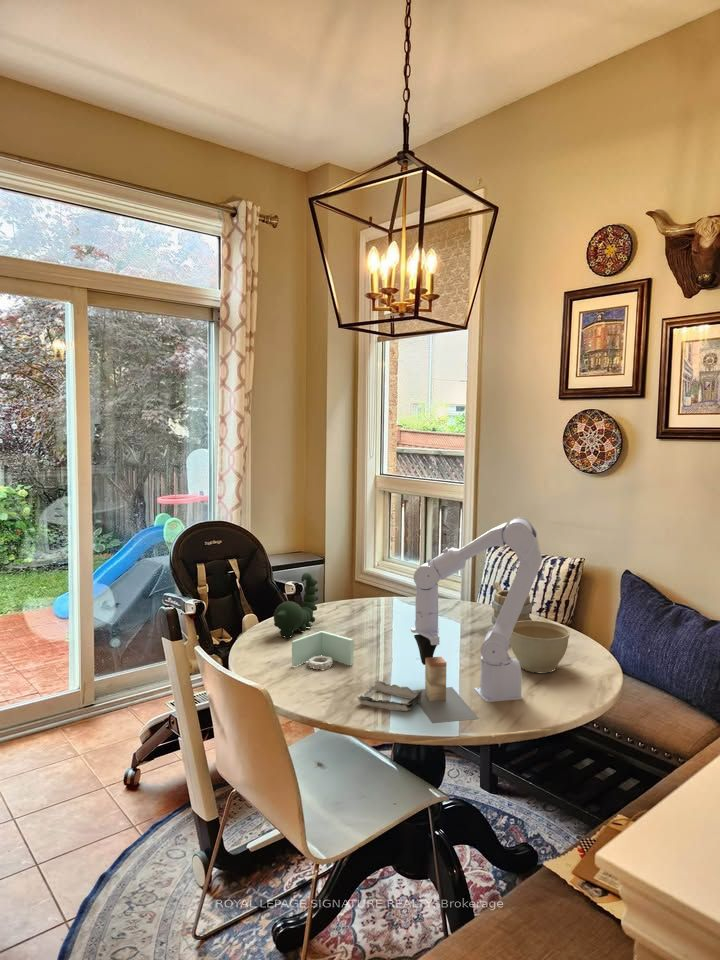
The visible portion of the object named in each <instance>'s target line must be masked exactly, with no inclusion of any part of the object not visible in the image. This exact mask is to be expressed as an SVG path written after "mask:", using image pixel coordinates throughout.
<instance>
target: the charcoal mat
mask: <svg viewBox="0 0 720 960" xmlns="http://www.w3.org/2000/svg"><path fill="white" fill-rule="evenodd" d="M411 691H412V692H413V693H417V691H419V692H421V691H422V693H421V696H422V697H421V701H420V702H418V703H417V704H418V705H419V706H420V707H421V709H422V710H423V712H424V713H425V714H426V716H427V717H428V720H429V721H430V722H431V724H437V723H438V724H439V723H447V722H448V723H449V722H459V721H469V720H472V721H473V720H479V719H480V718H479V716H477V714H476V713H475V712H474V711H473V710H472V709H471V707H470V706H469V705H468V704H467V703H466V702H465V700H464V699H463V698H462V697H461V696H460V695H459V693H458V692H457V691H456V690H455V689H454V687H452V686H446V700H437V701H430V700H429V699H428V698H427V696H426V695H425V688H423V689H411Z"/></svg>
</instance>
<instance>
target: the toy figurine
mask: <svg viewBox="0 0 720 960" xmlns="http://www.w3.org/2000/svg"><path fill="white" fill-rule="evenodd" d="M304 581H305V587H304V595H303V597H302V600H303V601H302V603H301V606H300V604H298V603H297V602H295V601H291V600H288V601H283V602H281V603H280V604H279V605H278V606H277V607H276V608H275V611H274V612H273V621H274V627H277V628H278V629H279V635H280V636H281V637H282V636H285V637H290V636H292V637H293V635H294V631H297V630H299V631H300V632H301V631H304V632H305V631H306V630H307V629H306V627H311V628H312V624H311V623H315V622H316V618H315V616H314V612H315V611H317V610H318V606H317V605H316V603H315V602H316V601H318V600H319V597H318V596H317V595H316V593H318V591H319V588H318V587H316V585H317V584H318V580H316V579H315V578H314V577H312V574H311V573H309V572H303V574H302V576H301V581H300V582H304ZM285 637H284V638H285ZM290 638H291V637H290Z"/></svg>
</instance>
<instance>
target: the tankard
mask: <svg viewBox="0 0 720 960" xmlns="http://www.w3.org/2000/svg"><path fill="white" fill-rule="evenodd" d="M492 589H493V590H495V591H496V592H495V593H494V595H493V597H494V598H493V599H492V601H491V608H492V609H493V614H492V616H491V623H492V624H493V626H494V625H495V623H496V620H497V618H498V616H499V613H500V611H501V608H502V606H503V604H504V601H505V599H506V597H507V594H508V592H509V590H510V589H509V590H507V589H504V590H503V588H502V587H501V585H500V583H499V582H497V581H495V582H494V583H493V584H492ZM531 611H533V603H532V602H531V595H530V594H528V596H527V599H526V601H525V603H524V606H523V608H522V610H521V613H520V615H519V617H518V619H517V622H518V621H533V620H532V619H533V618H531V617H530V614H531V613H530V612H531Z"/></svg>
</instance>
